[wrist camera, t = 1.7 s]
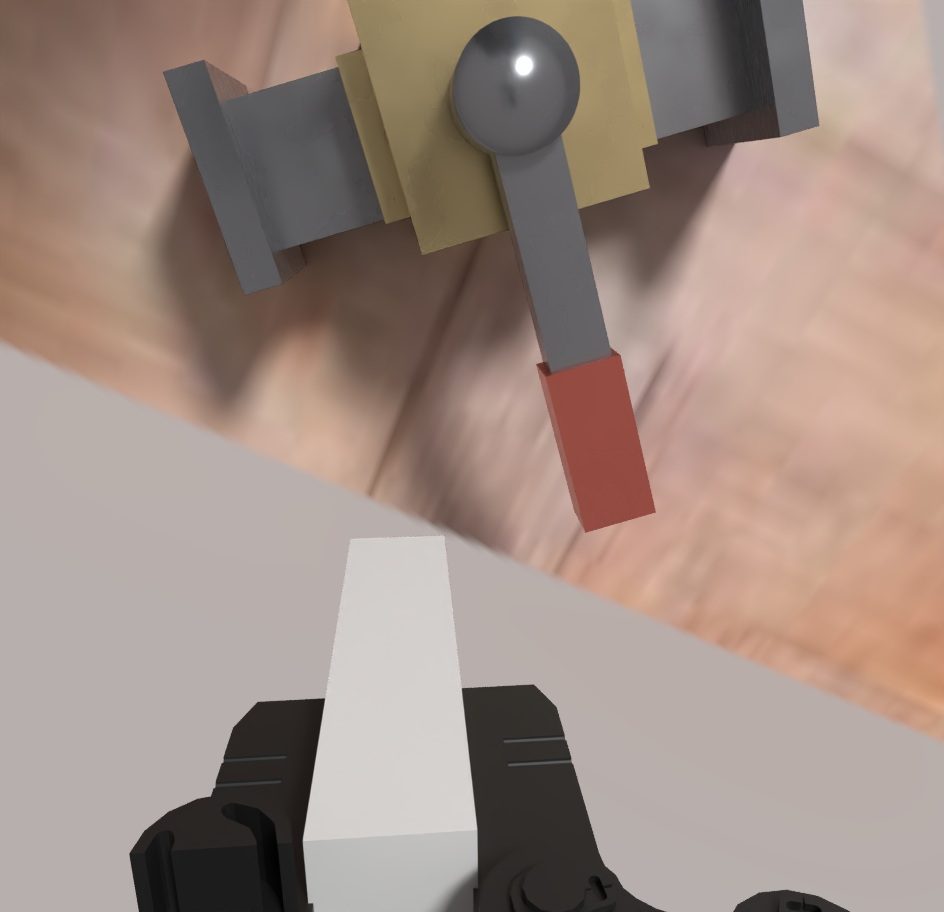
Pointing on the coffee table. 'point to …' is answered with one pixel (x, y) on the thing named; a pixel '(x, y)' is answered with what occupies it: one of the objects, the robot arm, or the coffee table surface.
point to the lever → (554, 257)
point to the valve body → (439, 140)
